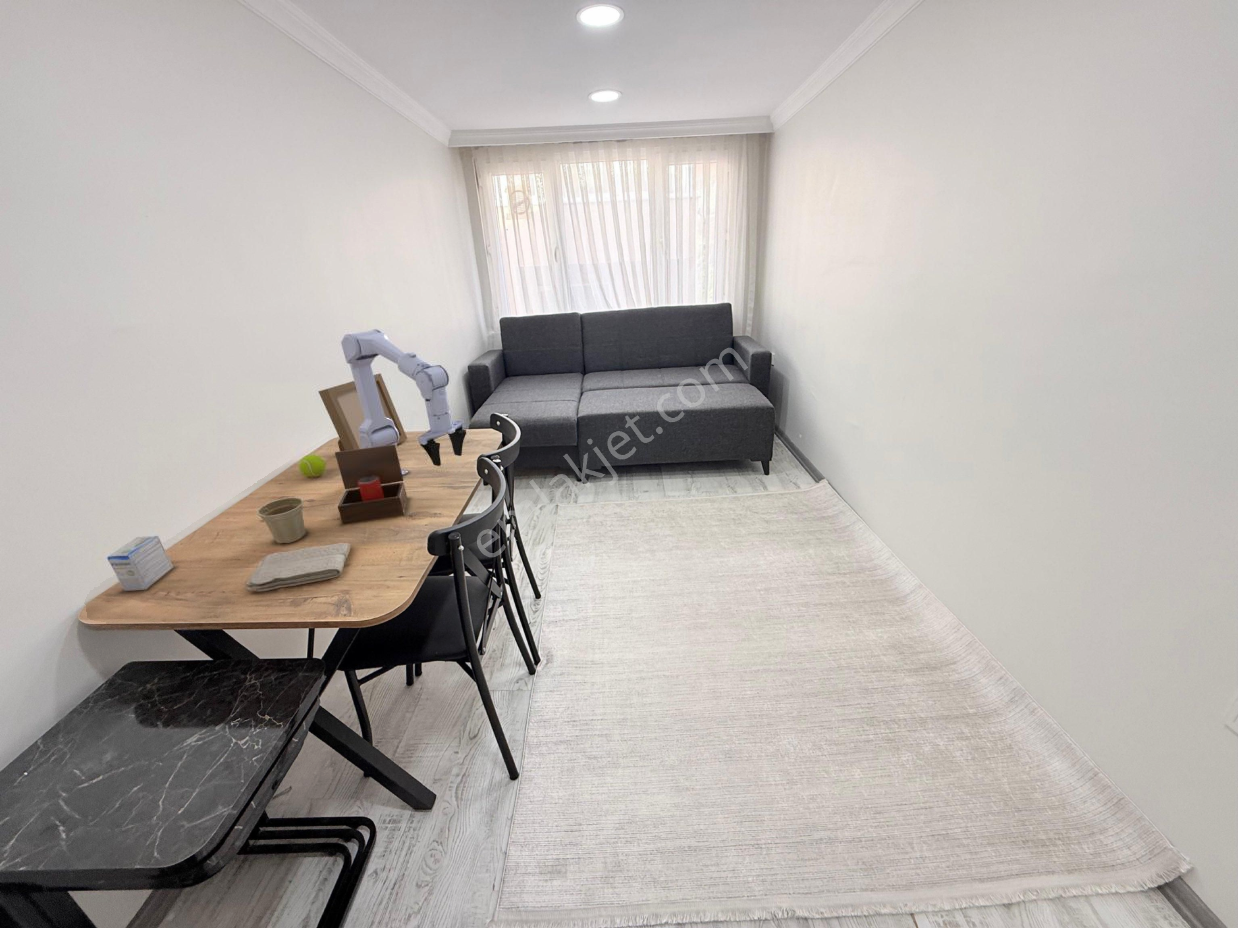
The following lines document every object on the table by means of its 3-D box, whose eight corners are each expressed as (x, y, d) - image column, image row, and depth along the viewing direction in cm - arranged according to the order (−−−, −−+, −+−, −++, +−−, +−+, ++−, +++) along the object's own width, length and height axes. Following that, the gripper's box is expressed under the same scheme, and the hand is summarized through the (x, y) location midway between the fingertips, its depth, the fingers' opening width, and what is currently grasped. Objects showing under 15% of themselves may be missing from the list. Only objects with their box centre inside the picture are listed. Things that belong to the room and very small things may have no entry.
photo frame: (408, 441, 181) (393, 374, 171) (360, 464, 162) (340, 390, 152) (377, 437, 186) (360, 372, 176) (327, 459, 167) (306, 387, 157)
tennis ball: (313, 482, 151) (307, 461, 148) (297, 479, 153) (290, 458, 150) (333, 472, 156) (327, 452, 154) (317, 470, 159) (310, 450, 156)
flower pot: (322, 530, 123) (312, 499, 120) (288, 550, 115) (276, 518, 112) (294, 525, 126) (284, 495, 123) (259, 544, 118) (247, 513, 115)
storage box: (404, 515, 129) (399, 497, 127) (343, 524, 125) (337, 506, 123) (407, 499, 137) (403, 481, 135) (350, 507, 134) (345, 490, 132)
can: (361, 511, 130) (352, 481, 127) (378, 502, 134) (370, 473, 131) (373, 515, 128) (365, 484, 124) (390, 506, 132) (383, 476, 128)
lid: (395, 445, 131) (395, 444, 131) (334, 452, 127) (335, 452, 128) (403, 481, 135) (403, 480, 135) (345, 489, 131) (345, 488, 132)
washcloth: (266, 563, 110) (261, 552, 109) (353, 548, 115) (350, 537, 114) (245, 596, 100) (240, 583, 99) (342, 577, 104) (339, 565, 103)
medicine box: (153, 569, 110) (136, 536, 107) (174, 567, 110) (158, 534, 107) (124, 591, 103) (105, 557, 99) (146, 590, 103) (128, 555, 100)
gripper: (427, 422, 123) (437, 472, 128) (469, 406, 134) (477, 453, 140) (408, 419, 126) (419, 468, 131) (451, 404, 137) (459, 449, 143)
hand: (448, 460), depth 136 cm, fingers open, 7 cm apart
